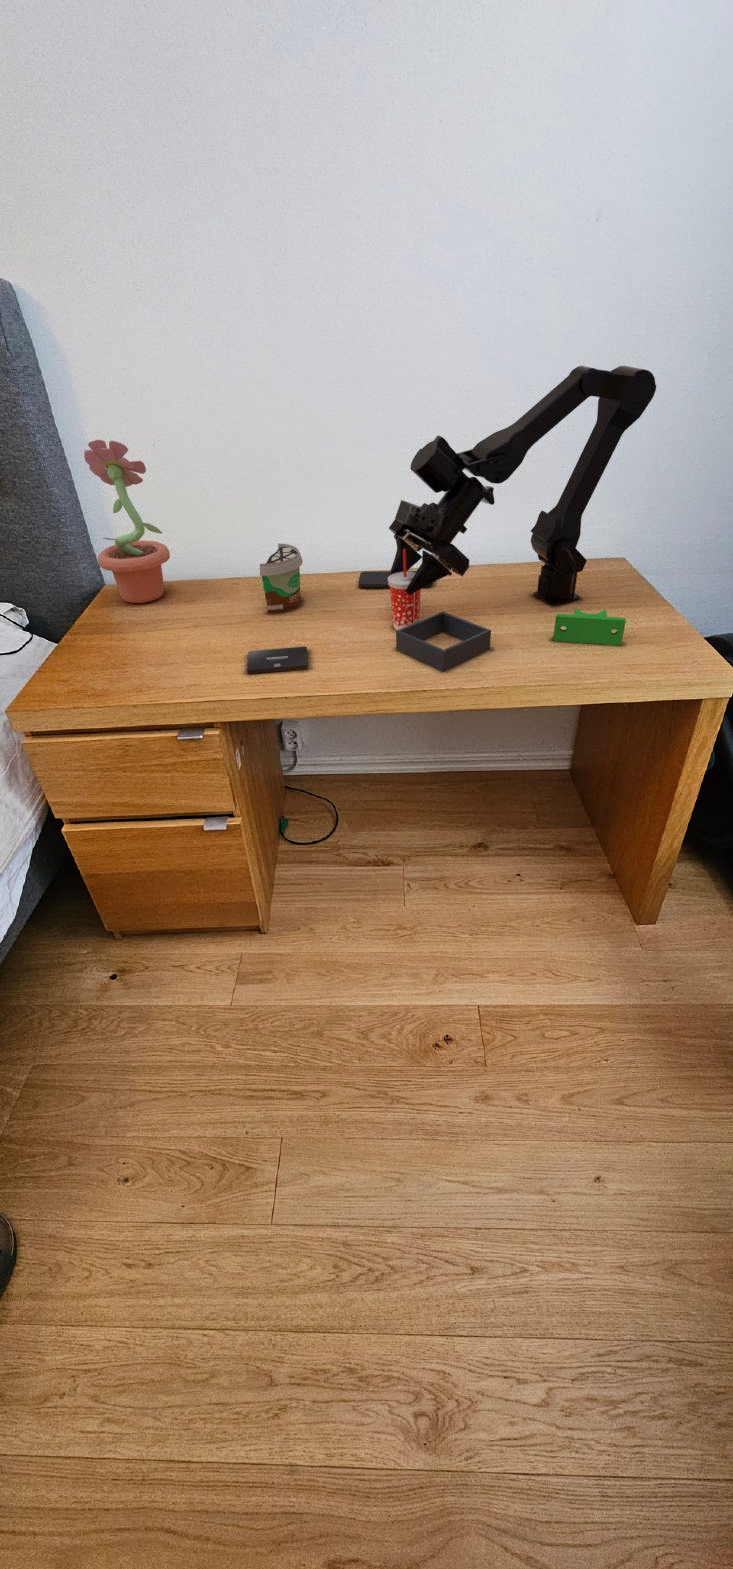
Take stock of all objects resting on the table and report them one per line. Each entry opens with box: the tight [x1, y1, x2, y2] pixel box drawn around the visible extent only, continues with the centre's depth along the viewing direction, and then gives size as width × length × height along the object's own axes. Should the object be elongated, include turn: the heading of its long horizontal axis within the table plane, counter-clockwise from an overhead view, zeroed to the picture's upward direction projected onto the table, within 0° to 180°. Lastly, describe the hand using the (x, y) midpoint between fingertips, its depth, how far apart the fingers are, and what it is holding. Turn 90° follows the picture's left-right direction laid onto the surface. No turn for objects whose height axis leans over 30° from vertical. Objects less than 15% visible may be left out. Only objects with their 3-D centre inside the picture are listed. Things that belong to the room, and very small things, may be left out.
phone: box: [358, 570, 433, 589], centre depth 143 cm, size 7×1×15 cm
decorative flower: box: [83, 439, 171, 604], centre depth 134 cm, size 15×14×30 cm
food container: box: [259, 543, 304, 614], centre depth 134 cm, size 12×6×10 cm, turn 168°
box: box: [395, 611, 492, 672], centre depth 117 cm, size 11×11×4 cm
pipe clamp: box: [552, 608, 627, 646], centre depth 118 cm, size 11×4×5 cm, turn 76°
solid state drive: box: [246, 646, 309, 674], centre depth 117 cm, size 7×10×1 cm
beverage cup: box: [388, 549, 422, 631], centre depth 122 cm, size 6×6×14 cm
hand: (398, 587), depth 121 cm, fingers closed on beverage cup, 6 cm apart
